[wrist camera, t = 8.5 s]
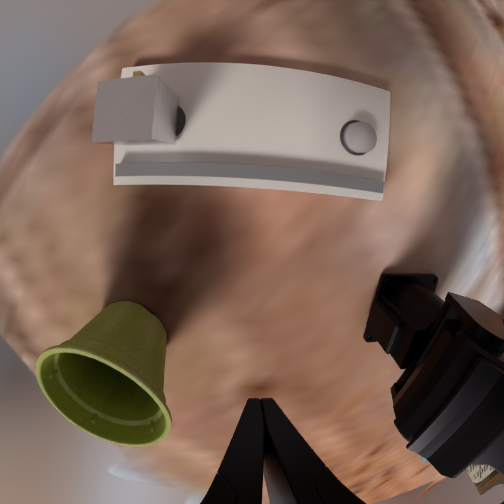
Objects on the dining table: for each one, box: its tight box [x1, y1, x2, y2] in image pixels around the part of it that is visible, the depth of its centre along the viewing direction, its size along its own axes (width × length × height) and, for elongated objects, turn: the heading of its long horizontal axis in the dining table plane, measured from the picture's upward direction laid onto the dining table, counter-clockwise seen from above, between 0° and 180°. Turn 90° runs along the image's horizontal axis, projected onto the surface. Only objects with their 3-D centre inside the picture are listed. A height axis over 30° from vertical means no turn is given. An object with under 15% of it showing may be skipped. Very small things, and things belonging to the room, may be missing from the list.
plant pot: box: [36, 301, 172, 447], centre depth 17 cm, size 9×9×9 cm
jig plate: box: [114, 62, 390, 201], centre depth 15 cm, size 18×8×2 cm, turn 86°
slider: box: [92, 71, 179, 146], centre depth 12 cm, size 3×4×5 cm
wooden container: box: [466, 465, 504, 495], centre depth 28 cm, size 15×15×22 cm
